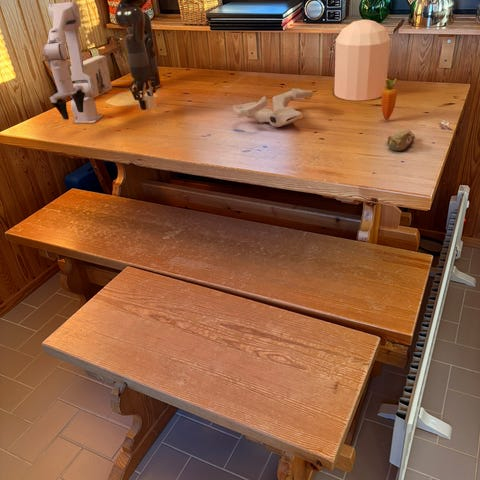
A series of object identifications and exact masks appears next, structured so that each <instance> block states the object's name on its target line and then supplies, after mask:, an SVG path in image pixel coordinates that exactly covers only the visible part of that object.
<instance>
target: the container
mask: <svg viewBox="0 0 480 480" xmlns="http://www.w3.org/2000/svg"><path fill="white" fill-rule="evenodd" d="M335 38H336V39H335V47H334V49H335V52H334V53H335V55H334V87H333V89H334V94H333V95H334V96H335V97H337V98H339V99H342V100H345V101H357V102H358V101H370V100H375V99H378V98H382V91H383V90H384V89H386V88H387V87H386V85H387V83H386V79H388V71H389V70H388V69H389V68H388V67H389V58H390V48H391V37H390V35H389V33H388V31H387V29H386V28H385V26H384V25H382V24H380V23H379V22H377V21H375V20H371V19H359V20H354V21H352V22H351V23H349V24H348V25H347V26H345V27H344V28H342V29H341V31H340V32H339V34H338V35H337V37H335Z"/></svg>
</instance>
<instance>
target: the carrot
mask: <svg viewBox="0 0 480 480" xmlns="http://www.w3.org/2000/svg"><path fill="white" fill-rule="evenodd" d="M397 81H398V78H395V79H394V80H393V82H391V79H390V78H387V79H386V89H384V90H383V91H382V96H381V97H380V98H381V100H380V101H381V102H380V104H381V112H382V113H381V114H382V117H383V119H384V120H385V121H386V122H388V121H389V119H390V118H391V117H392V114H393V112H394V109H395V106H396V101H397V96H398V95H397V94H398V91H397V89H395V88H394V86H395V85H396V83H397Z"/></svg>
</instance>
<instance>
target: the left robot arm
mask: <svg viewBox="0 0 480 480" xmlns="http://www.w3.org/2000/svg"><path fill="white" fill-rule="evenodd" d="M80 13H81V12H80V9H79V6H78V4H77V3H76V2H75V1H73V0H72V1H68V2H57V3H52V2H51V3H49V5H48V14H49V17H50V19H51V20H52V28H50V29H49V31H48V37H47V43H46V44H44V45H43V47H42V53H43V56H44V58H45V60H46V62H47V65H48V67H49V68H50V69H51V72H52V76H53V80H54V83H55V86H56V90H57V92H56V93H55V94H53V95H51V96H50V97H49V99H50V103H51V104H52V106H53V107H55V109H56V110H57V111H58V112H59V114H60V115H61V117H62V118H63V120H65V121H66V120H69V119H70V117H69V112H68V108H67V101H64V100H63V99H66V98H68V97H70V98H71V99H72V100H71V102H70V109H71V112H72V115H73V119H74V121H73V122H74V123H75V124H93V123H96V122H97V121H99V120H100V119H102V118H103V116H104V115H103V114H99V112H98V108H97V104H96V101H95V98H96V97H95V95H96V87H95V84H94V80H93V78H92V77H91V76H89V75H88V74H86V73H85V70H84V64H83V61H84V60H83V59H84V58H83V53H82V48H81V42H80V37H79V28H80V27H81V26H82V19H81V14H80ZM66 44H67V45H66ZM67 51H68V54H67ZM68 56H69V61H70V66H71V67H72V73H73V74H71V71H70V68H69V66H68V62H67V58H68ZM79 81H87V82H79ZM75 82H77V83H75ZM94 97H95V98H94Z"/></svg>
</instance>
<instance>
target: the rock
mask: <svg viewBox="0 0 480 480" xmlns="http://www.w3.org/2000/svg"><path fill="white" fill-rule="evenodd" d="M415 139H416V135H415V134H414V132H412V131H411V130H408V129H407V130H404V131H398V132H396V133H394V134H393V135H392V134H391V135H389V136H388V137H387V143H388V145H387V146H388V147H389V149H391V150H392V151H395V152H404V151H406V150H407V148H409V145H410V144H411V143H412V142H413V141H414V140H415Z"/></svg>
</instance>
